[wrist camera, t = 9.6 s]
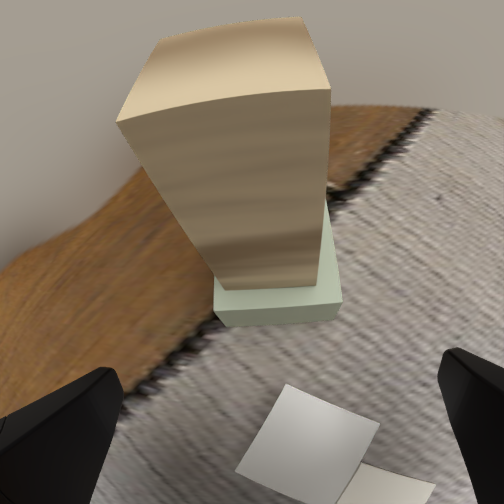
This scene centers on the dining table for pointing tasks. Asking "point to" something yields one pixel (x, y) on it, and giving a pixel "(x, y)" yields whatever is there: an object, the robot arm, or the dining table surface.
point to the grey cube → (307, 448)
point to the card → (384, 488)
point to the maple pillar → (238, 146)
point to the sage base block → (286, 295)
